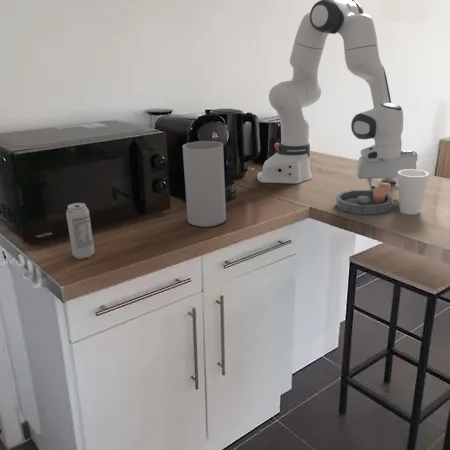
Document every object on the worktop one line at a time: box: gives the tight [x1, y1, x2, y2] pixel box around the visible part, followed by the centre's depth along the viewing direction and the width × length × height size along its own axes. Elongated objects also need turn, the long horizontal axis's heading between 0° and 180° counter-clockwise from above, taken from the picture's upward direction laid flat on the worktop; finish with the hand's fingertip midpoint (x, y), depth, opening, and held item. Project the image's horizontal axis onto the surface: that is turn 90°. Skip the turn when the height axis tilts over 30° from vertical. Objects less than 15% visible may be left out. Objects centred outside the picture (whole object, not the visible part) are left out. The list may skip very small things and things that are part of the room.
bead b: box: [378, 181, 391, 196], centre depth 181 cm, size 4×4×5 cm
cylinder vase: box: [182, 140, 227, 228], centre depth 162 cm, size 12×12×25 cm
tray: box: [335, 189, 393, 216], centre depth 174 cm, size 18×18×3 cm
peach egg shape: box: [372, 186, 386, 205], centre depth 173 cm, size 4×4×5 cm
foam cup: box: [397, 169, 430, 216], centre depth 166 cm, size 10×9×13 cm
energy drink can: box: [65, 202, 95, 258], centre depth 141 cm, size 6×6×15 cm
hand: (384, 189), depth 181 cm, fingers open, 8 cm apart
